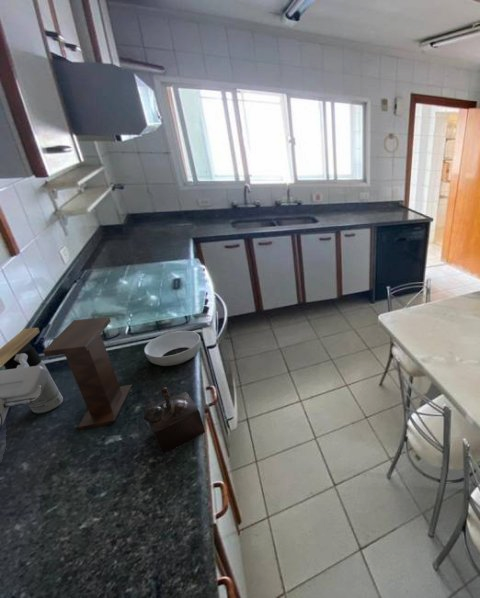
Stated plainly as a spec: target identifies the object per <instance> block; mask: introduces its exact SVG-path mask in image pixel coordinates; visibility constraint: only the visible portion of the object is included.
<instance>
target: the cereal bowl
mask: <svg viewBox="0 0 480 598" xmlns="http://www.w3.org/2000/svg"><path fill="white" fill-rule="evenodd" d="M201 347H202V339H201V336H200V334H199V333H198V332H196V331H193V330H177V331H172V332H171V331H170V332H167V333H163V334H161V335H159V336H157V337H155V338H153V339H152V340H150V341H149V342H148V343H146V345H145V346H144V349H143V351H144V354H145V357H146V358H147V360H148V361H149V362H150V363H152V364H153V365H155V366H162V367H171V366H176V365H180V364H183V363H186V362H188V361H190V360H191V359H192V358H194V357H195V356H196V355H198V353H199V351H200V350H201ZM181 348H182V349H183V348H187V349H186V350H184V351H181V352H179V353H175V354H171V355H166V354H167V353H168V352H171V351H173V350H176V349H181ZM164 355H165V356H164Z"/></svg>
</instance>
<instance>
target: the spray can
mask: <svg viewBox="0 0 480 598" xmlns="http://www.w3.org/2000/svg"><path fill="white" fill-rule="evenodd" d="M23 353H25V354H26V355H27V356H28V358H27V361H26V362H27V363H28V365H29V366H30V367H32V366H41V367H43V368H45V369H46V370H47V371H48V372H49V370H48V367H47V366H46V365H45V363H44V361H43V359H42V357H41V356H40V354H39V352H37V351H36V349H35V347H33V346H32V345H31V344H30V343H29V342H28V343H27V344H26V345H25V346H24V347H23V348H22V349H20V350H19V351H18V352H17V353H16V354H23ZM16 354H15V355H14V356H13V357H12V358H10V359H9V360H8V361H7V362H6V363H5V364H4V365H3V367H4V368H5V370H8V369H16V368H17V365H21V364H20V363H18V362H17V361H15V360H14V358H15V357H16ZM52 377H53V376H52V375H51V374H50V373H49V376H48V379H47V381H46V383H45V385H44V387H43V390H42V394H41V396H40V397H39V398H38V399H36V400H34V401H32V402H31V403H29V404H27V405H28V407H29V408H30V410H31V412H33V413H34V414H44V413H47V412H50V411H52V410H55V409H56V408H58V407H59V406H61V405H62V404H63V401H64V397H63V395H62V394H61V392H60V389H59V388H58V386H57V385H56V382H55V381H54V379H53V378H52ZM32 400H33V399H32Z"/></svg>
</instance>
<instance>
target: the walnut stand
mask: <svg viewBox="0 0 480 598" xmlns="http://www.w3.org/2000/svg"><path fill="white" fill-rule="evenodd" d="M110 323H111V319H110V316H107V317H106V316H105V317H95V318H85V319H73V320H72V321H71V322H70V323H69V324H68V325H67V326H66V327H65V328H64V329H63V330H62V331H61V332H60V333H59V335H57V336H56V337H55V338H54V339H53V340H52V341H51V342H50V343H49V345H48V346H47V347H45V348H44V349H43V350H42V353H43V355H44V357H52V356H61V355H64V356H65V358H66V361H67V363H68V366H69V368H70V371H71V372H72V375H73V377H74V380H75V383H76V384H77V386H78V389H79V392H80V394H81V397H82V398H83V401H84V403H85V406H86V408H87V411H86V412H85V414H84V415H83V417H82V419H81V420H80V422H79V423H78V426H77V429H78V431H83V430H88V429H93V428H98V427H102V426H106V425H112V424H115V423H116V422H117V419H118V417H119V415H120V413H121V411H122V409H123V406H124V405H125V403H126V401H127V398H128V396H129V394H130V392H131V390H132V388H133V384H127V385H121V386H120V383H119V382H118V379H117V375H116V373H115V370H114V367H113V364H112V362H111V359H110V356H109V353H108V351H107V348H106V345H105V343H104V340H103V337H102V333H104V331H105V330H106V329H107V327H108V326H109V325H110Z"/></svg>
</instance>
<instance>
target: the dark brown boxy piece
mask: <svg viewBox="0 0 480 598" xmlns="http://www.w3.org/2000/svg"><path fill="white" fill-rule="evenodd" d="M161 392H162V394H161V395H162V397H163V398H164V400H162V401H160V402H157V403H155V404H153V405H150V406H148V407H146V408H143V409H144V410H143V412H144V416H143V420H144V421H145V422H147V423H148V425H149V427H150V430H151V431H152V432H151V433H152V435H153V437H154V441H153V445H154V447H157V446H158V447H159V450H160V451H161V453H162V454H163V455H165V454H167V453H170V452H171V450H172V451H174V450H175V448H176V447H178V448H180V447H182V446H183V445H185V444H187V443H189V442H191V441H193V440H195V439H196V438H198V437H200V436H202V435H203V434H205V433H206V430H205V426H204V422H203V419H202V416H201V413H200V410H199V408H198V406H197V405H196V403H195V401H194V400H193V398H192V397H191V396H190V395H189V393H188V392H187V391H183V392H181V393H178V394H176V395H173V396H171V395H170V392H169V389H168V388H167V387H166V386H165V387H164V386H163V387H162V388H161ZM186 442H187V443H186ZM184 443H185V444H184ZM179 446H180V447H179ZM173 449H174V450H173ZM176 449H177V448H176ZM166 452H167V453H166ZM164 453H165V454H164Z"/></svg>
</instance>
